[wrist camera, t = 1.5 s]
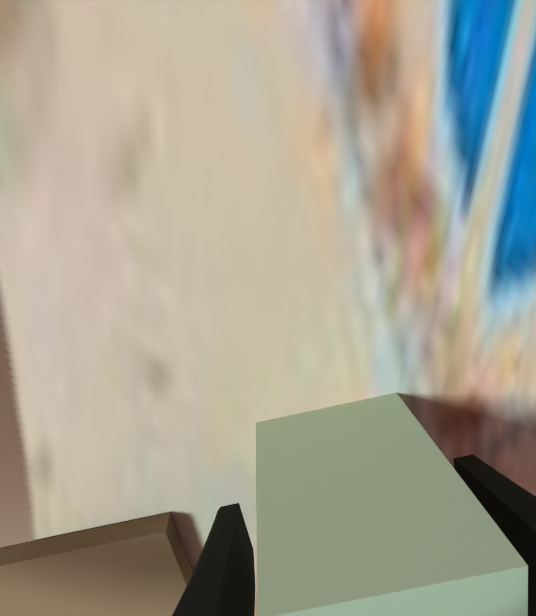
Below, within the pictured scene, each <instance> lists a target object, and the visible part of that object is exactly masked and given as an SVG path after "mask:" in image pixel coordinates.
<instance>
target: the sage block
mask: <svg viewBox="0 0 536 616" xmlns="http://www.w3.org/2000/svg"><path fill="white" fill-rule="evenodd" d="M256 500H257V616H528V565H527V564H526V563H525V561H524V560H523V559H522V557H521V556H520V555H519V553H518V552H517V551H516V549H515V548H514V547H513V545H512V544H511V543H510V541H509V540H508V539H507V538H506V536H505V535H504V534H503V532H502V531H501V530H500V528H499V527H498V526H497V524H496V523H495V522H494V520H493V519H492V518H491V516H490V515H489V514H488V513H487V511H486V510H485V509H484V507H483V506H482V505H481V503H480V502H479V501H478V499H477V498H476V497H475V495H474V494H473V493H472V491H471V490H470V489H469V488H468V486H467V485H466V484H465V482H464V481H463V480H462V478H461V477H460V476H459V474H458V473H457V472H456V470H455V469H454V468H453V466H452V465H451V464H450V463H449V461H448V460H447V459H446V457H445V456H444V455H443V453H442V452H441V451H440V449H439V448H438V447H437V445H436V444H435V443H434V441H433V440H432V439H431V438H430V436H429V435H428V434H427V432H426V431H425V430H424V428H423V427H422V426H421V424H420V423H419V422H418V420H417V419H416V418H415V416H414V415H413V414H412V413H411V411H410V410H409V409H408V407H407V406H406V405H405V403H404V402H403V401H402V399H401V398H400V397H399V395H398V394H397V393H393V394H389V395H384V396H379V397H375V398H370V399H365V400H361V401H356V402H351V403H347V404H342V405H337V406H333V407H328V408H323V409H318V410H314V411H309V412H304V413H300V414H295V415H290V416H286V417H281V418H276V419H272V420H267V421H262V422H258V423H256Z"/></svg>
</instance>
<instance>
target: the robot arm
mask: <svg viewBox="0 0 536 616" xmlns="http://www.w3.org/2000/svg"><path fill="white" fill-rule="evenodd" d="M454 469H455V470H456V472H457V473H458V474H459V476H460V477H461V478H462V480H463V481H464V482H465V484H466V485H467V486H468V488H469V489H470V490H471V491H472V493H473V494H474V495H475V497H476V498H477V499H478V501H479V502H480V503H481V505H482V506H483V507H484V509H485V510H486V511H487V513H488V514H489V515H490V516H491V518H492V519H493V520H494V522H495V523H496V524H497V526H498V527H499V528H500V530H501V531H502V532H503V534H504V535H505V536H506V538H507V539H508V540H509V541H510V543H511V544H512V545H513V547H514V548H515V549H516V551H517V552H518V553H519V555H520V556H521V557H522V559H523V560H524V561H525V563H526V564H527V565H528V616H536V497H535V496H534V495H532V494H531V493H529V492H528V491H526V490H525V489H523V488H521V487H520V486H518V485H517V484H516V483H514V482H513V481H511V480H510V479H508V478H507V477H505V476H504V475H502V474H501V473H499V472H498V471H496V470H495V469H493V468H492V467H490V466H489V465H487V464H486V463H484V462H483V461H482V460H480V459H479V458H477V457H476V456H474V455H468V456H463V457H459V458H454ZM254 606H255V573H254V555H253V547H252V544H251V541H250V538H249V535H248V531H247V528H246V525H245V522H244V518H243V515H242V512H241V509H240V505H239V503H237V504H232V505H227V506H223V507H220V508H219V510H218V512H217V515H216V517H215V520H214V523H213V525H212V528H211V531H210V533H209V536H208V538H207V541H206V543H205V545H204V548H203V550H202V553H201V555H200V557H199V560H198V562H197V564H196V566H195V569H194V571H193V573H192V575H191V578H190V580H189V582H188V584H187V586H186V588H185V590H184V592H183V594H182V596H181V598H180V600H179V602H178V604H177V606H176V608H175V610H174V612H173V614H172V616H254Z"/></svg>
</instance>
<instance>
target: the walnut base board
mask: <svg viewBox="0 0 536 616" xmlns="http://www.w3.org/2000/svg"><path fill="white" fill-rule="evenodd" d="M192 573H193V570H192V567H191V565H190V562H189V559H188V557H187V554H186V552H185V549H184V546H183V544H182V541H181V539H180V536H179V534H178V531H177V528H176V526H175V523H174V521H173V518H172V516H171V513H165V514H160V515H156V516H151V517H146V518H141V519H136V520H132V521H127V522H122V523H117V524H112V525H107V526H103V527H98V528H93V529H88V530H83V531H79V532H74V533H69V534H64V535H59V536H55V537H50V538H45V539H40V540H35V541H31V542H26V543H21V544H17V545H11V546H7V547H2V548H0V616H172V614H173V612H174V610H175V608H176V606H177V604H178V602H179V600H180V598H181V596H182V594H183V592H184V590H185V588H186V586H187V584H188V582H189V580H190V578H191V575H192Z"/></svg>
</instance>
